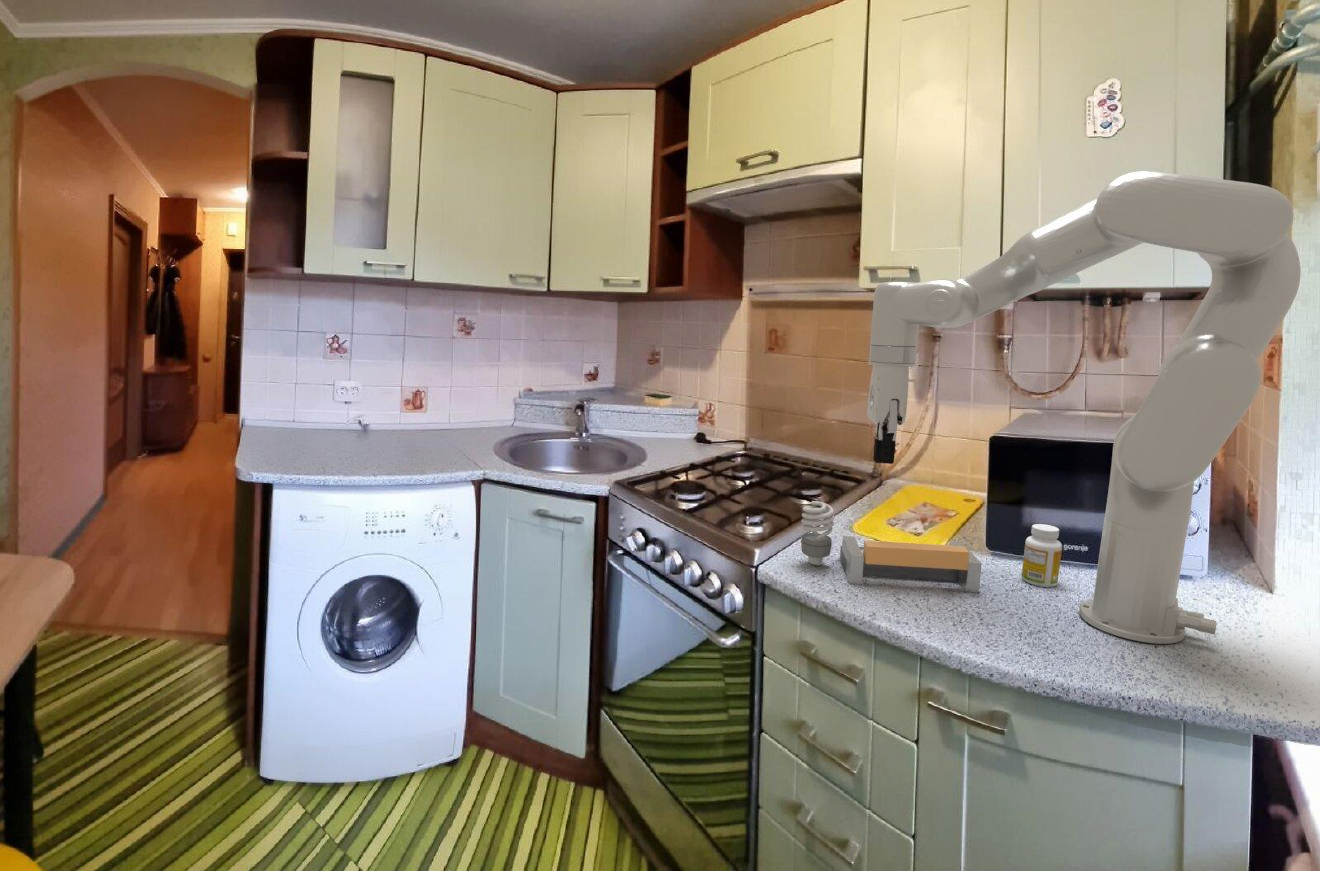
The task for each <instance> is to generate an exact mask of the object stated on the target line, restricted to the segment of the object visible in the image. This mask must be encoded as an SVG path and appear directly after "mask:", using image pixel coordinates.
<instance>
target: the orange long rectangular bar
mask: <svg viewBox="0 0 1320 871" xmlns="http://www.w3.org/2000/svg"><path fill="white" fill-rule="evenodd" d="M964 546H965V545H964ZM964 546H951V545H949V544H947V545H946V544H931V543H912V542H911V543H910V542H896V541H895V542H893V541H879V540H878V541H877V540H875V541H874V540H863V547H864V549H863V556H864V561H865V563H866V564H877V565H893V566H909V567H926V568H942V569H959V570H968V562H969V551H970V550H969V549H968V548H967V547H966V546H965V547H966V548H967V549H968V550H969V551H968V550H967V549H966V548H965V547H964Z"/></svg>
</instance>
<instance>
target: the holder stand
mask: <svg viewBox="0 0 1320 871" xmlns="http://www.w3.org/2000/svg"><path fill="white" fill-rule="evenodd" d="M948 545H951V546H964V547H965V548H966V549H967V550H968V551H969V562H968V570H959V569H942V568H926V567H909V566H893V565H877V564H866V563H865V561H864V556H863V549H864V546H860V545H859V544H858V542H857V540H856V538H855V536H852V535H851V536H850V535H849V536H848V535H842V542H841V545H840V550H839V551H840V552H839V560H840V563H841V566H842V568H843V571H844V573H845V575H846V579H847V580H848V584H849V585H858V586H861V585H863V577H871V578H872V577H873V578H874V577H875V578H890V579H903V580H904V579H906V580H918V581H919V580H920V581H935V582H936V581H937V582H951V583H952V582H953V583H958V584H959V585H960V586H961V587H962V590H964V591H965V593H967V592H970V593H979V591H980V583H981V573H982V565H983V564H982V562H981V561H980V560H979V559H978V558H977V557H976V556H975V554H973V553H972V552H971V551H970V549H968V547H966V545H965V544H964V543H963V542H958V541H957V542H956V541H949V544H948Z"/></svg>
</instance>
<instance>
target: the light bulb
mask: <svg viewBox="0 0 1320 871" xmlns="http://www.w3.org/2000/svg"><path fill="white" fill-rule="evenodd" d="M811 505H812V506H811ZM802 511H803V512H802V513H801V517H802V519H801V523H802V526H801V527H802V529H803V530H804V531H807V532H808V533H804V534H802V536H801V539H800V544H801V546H800V547H801V553H802V554H803V555H805V556H806V557H807V558H808V559H807V561H808V562H809V564H811V565H812V566H814V567H816V566H819V565H821V564H822V563H823V559H824V558H826V557H829V556H830V554H831V552H832V551H831V550H832V547H833V546H832V545H833V542H832V540H833V539H832V538H831V537H830V536H829V535H830V534H831V533H832V531H833V527H834V524H835V523H834V520H835V515H834V512H835V510H834V507H832V506H831V505H830V504H828V503H825V502H822V501H818V500H812V501H811V502H810V505H807V506H803V507H802ZM819 532H822V533H819Z"/></svg>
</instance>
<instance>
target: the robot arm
mask: <svg viewBox="0 0 1320 871" xmlns="http://www.w3.org/2000/svg"><path fill="white" fill-rule="evenodd" d="M1294 215H1295V214H1294V208H1293V206H1292V203H1291V201H1290V200H1289V199H1288V198H1287V197H1286V195H1284V194H1283V193H1282V192H1280V190H1277V189H1275V188H1273V187H1270V186H1268V185H1264V184H1263V185H1262V184H1258V183H1253V182H1246V181H1238V180H1237V181H1236V180H1230V179H1221V178H1213V177H1206V176H1197V175H1190V174H1189V175H1188V174H1180V173H1175V172H1166V171H1159V170H1136V171H1135V170H1134V171H1131V172H1127V173H1124V174H1122V175H1120V176H1117V178H1115V179H1114V180H1112V181H1111V182H1109V183H1108V184H1107V185H1105V187H1104V188H1103V190H1101V192H1100V194H1099V195H1098V196H1096V197H1095V198H1093V199H1091V200H1089V201H1087V202H1084V203H1083V204H1082V205H1079V206H1078V207H1077V206H1076V208H1074V209H1071V210H1070V211H1068V212H1066V213H1064V214H1062V215H1060V216H1058V217H1056V218H1054V219H1052V220H1049V221H1048V222H1046V223H1044V224H1042V225H1040V226H1038V227H1036V228H1034V229H1032V230H1030V231H1028V232H1027V233H1025V234H1024V235H1022V236H1021V237H1020V238H1019V239H1017V240H1016V242H1015V243H1014V244H1013V245H1012V246H1011V247H1010V248H1009V249H1008V250H1007V251H1006V252H1004V253H1003V254H1002V255H1001V256H999V257H997V258H996V259H995V260H992V261H991V262H989V263H988V264H986V265H985V266H983V267H980V268H978V269H977V270H974V271H973V272H971V273H968V274H967V275H964V276H962V277H960V278H958V279H957V280H953V279H946V278H945V279H933V280H929V281H922V282H912V281H887V282H881V283H879V284H878V285H877V286H876V287H875V288H874V295H873V307H872V318H871V328H870V329H871V332H870V343H869V344H870V345H869V356H868V365H869V366H872V371H871V376H870V381H869V382H870V383H869V390H868V391H869V392H868V400H867V408H866V417H867V418H868V419H869V420H870V421H871V422H872V423H873V424H875V438H874V444H873V446H874V447H873V456H872V460H873V461H874V463H875V464H888V465H889V464H894V462H895V455H896V454H895V452H896V444H897V441H896V440H897V431H898V426H902V425H904V424H905V422H906V417H907V410H908V409H907V408H908V397H909V382H910V376H909V375H910V368H913V367H916V363H917V360H916V359H917V351H918V342H919V330H920V326H926V327H932V328H937V329H947V328H948V329H949V328H950V329H951V328H959V327H962V326H964V325H965V326H966V325H967V324H970V323H971V322H974V321H977V320H978V319H981V318H983V317H985V316H987V315H989V314H991V313H993V312H995V311H996V312H997V311H998V310H1000V309H1003V308H1004V307H1006V306H1009V305H1010V304H1013V303H1015V302H1018V301H1019V300H1021V299H1023V298H1026V297H1028V296H1030V295H1033V294H1036V293H1038V292H1040V291H1042V290H1044V289H1046V288H1048V287H1050V286H1052V285H1055V284H1056V283H1058V282H1061V281H1063V280H1065V279H1068V278H1070V277H1072V276H1074V275H1076V274H1078V273H1079V272H1082V271H1084V270H1086V269H1089V268H1091V267H1092V266H1095V265H1096V264H1099V263H1101V262H1103V261H1106V260H1108V259H1111V258H1113V257H1116V256H1117V255H1120V254H1122V253H1124V252H1126V251H1128V250H1131V249H1133V248H1135V247H1138V246H1139V245H1141V244H1150V245H1152V246H1159V247H1165V248H1169V249H1175V250H1181V251H1186V252H1192V253H1197V254H1198V255H1199V257H1200V258H1201V259H1203V260H1204V261H1205V262H1206V263H1207V264H1208V266H1209V267H1210V271H1211V281H1210V282H1211V283H1210V285H1209V288H1208V290H1207V292H1206V294H1205V295H1204V297H1203V299H1202V301H1201V303H1200V305H1199V306H1198V308H1197V310H1196V312H1195V314H1194V315H1193V317H1192V319H1191V321H1190V322H1189V324H1188V325H1187V327H1186V328H1185V330H1184V331H1183V333H1182V335H1181V337H1180V338H1179V339H1178V341H1177V343H1176V344H1175V345H1174V347H1173V348H1172V350H1171V351H1170V352H1169V353H1168V354H1167V355H1166V356H1165V357H1164V359H1163V361H1162V363H1161V364H1160V367H1159V370H1158V377H1157V379H1156V380H1155V382H1154V384H1153V386H1152V388H1151V389H1150V391H1149V392H1148V393H1147V395H1146V397H1145V398H1144V400H1143V402H1142V404H1141V405H1140V407H1139V409H1138V410H1137V412H1136V413H1135V415H1133V416H1131V417H1129V419H1127V420H1126V421H1125V422H1123V424H1121V426H1120V428H1119V429H1118V430H1117V432H1116V434H1115V436H1114V441H1113V445H1112V456H1111V466H1110V474H1109V484H1108V489H1107V490H1108V493H1107V498H1106V506H1105V507H1106V508H1105V514H1104V518H1103V525H1102V532H1101V539H1100V540H1101V541H1100V547H1099V553H1098V561H1097V562H1098V563H1097V568H1096V575H1095V576H1096V577H1095V584H1094V591H1093V598H1092V599H1088V600H1085V601H1083V602H1082V603H1080V604H1079V609H1078V610H1079V611H1078V613H1079V615H1080V617H1081V618H1082V619H1083V621H1085V622H1086V623H1088V624H1089V625H1091V626H1092V627H1094V628H1096V629H1098V630H1100V631H1102V632H1105V633H1107V634H1109V635H1113V636H1116V637H1120V638H1124V639H1127V640H1131V641H1135V642H1142V643H1146V644H1147V643H1148V644H1155V645H1156V644H1158V645H1162V644H1163V645H1166V644H1167V645H1168V644H1175V643H1178V642H1181V641H1183V640H1184V639H1185V634H1186V629H1187V628H1188V629H1191V630H1195V631H1198V632H1201V633H1204V634H1205V633H1206V634H1209V635H1214V636H1215V634H1216V629H1217V620H1214V619H1209V618H1205V617H1204V616H1205V613H1202V612H1201V613H1200V612H1195V611H1189V610H1186V609H1185V610H1184V609H1183V607H1180V606H1179V599H1178V598H1177V594H1178V588H1179V582H1180V577H1181V570H1182V564H1183V557H1184V551H1185V544H1186V539H1187V533H1188V530H1189V523H1190V516H1191V509H1192V503H1193V502H1192V501H1193V495H1194V494H1193V493H1194V488H1195V487H1194V485H1195V481H1197V480H1198V479H1200V477H1201V476H1202V475H1203V474H1204V472H1205V471H1206V470H1207V468H1208V467H1209V466H1210V465H1211V463H1212V462H1213V460H1214V459H1215V458H1216V456H1217V455H1218V453H1219V452H1220V450H1221V449H1222V447H1223V446H1224V445H1225V443H1226V442H1227V440H1228V439H1229V438H1230V436H1231V435H1232V433H1233V432H1234V430H1235V429H1236V427H1237V425H1238V424H1239V423H1240V422H1241V420H1242V418H1243V417H1244V416H1245V414H1246V412H1247V411H1248V409H1249V408H1250V406H1251V405H1252V403H1253V401H1254V399H1255V398H1256V396H1257V393H1258V392H1259V389H1260V385H1261V383H1262V382H1261V381H1262V370H1261V366H1260V363H1259V360H1260V359H1261V356H1262V355H1263V353H1264V351H1265V350H1266V349H1267V347H1268V346H1269V344H1270V342H1271V340H1272V339H1273V338H1274V336H1275V334H1276V332H1277V330H1278V328H1279V327H1280V326H1281V324H1282V322H1283V320H1284V319H1285V317H1286V316H1287V314H1288V312H1289V310H1290V309H1291V307H1292V305H1293V303H1294V301H1295V300H1296V297H1297V293H1298V291H1299V287H1300V282H1301V274H1302V273H1301V270H1302V269H1301V262H1300V258H1299V252H1298V250H1297V247H1296V244H1295V243H1294V241H1293V239H1292V238H1291V236H1290V234H1289V233H1290V231H1291V228H1292V226H1293V224H1294Z"/></svg>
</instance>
